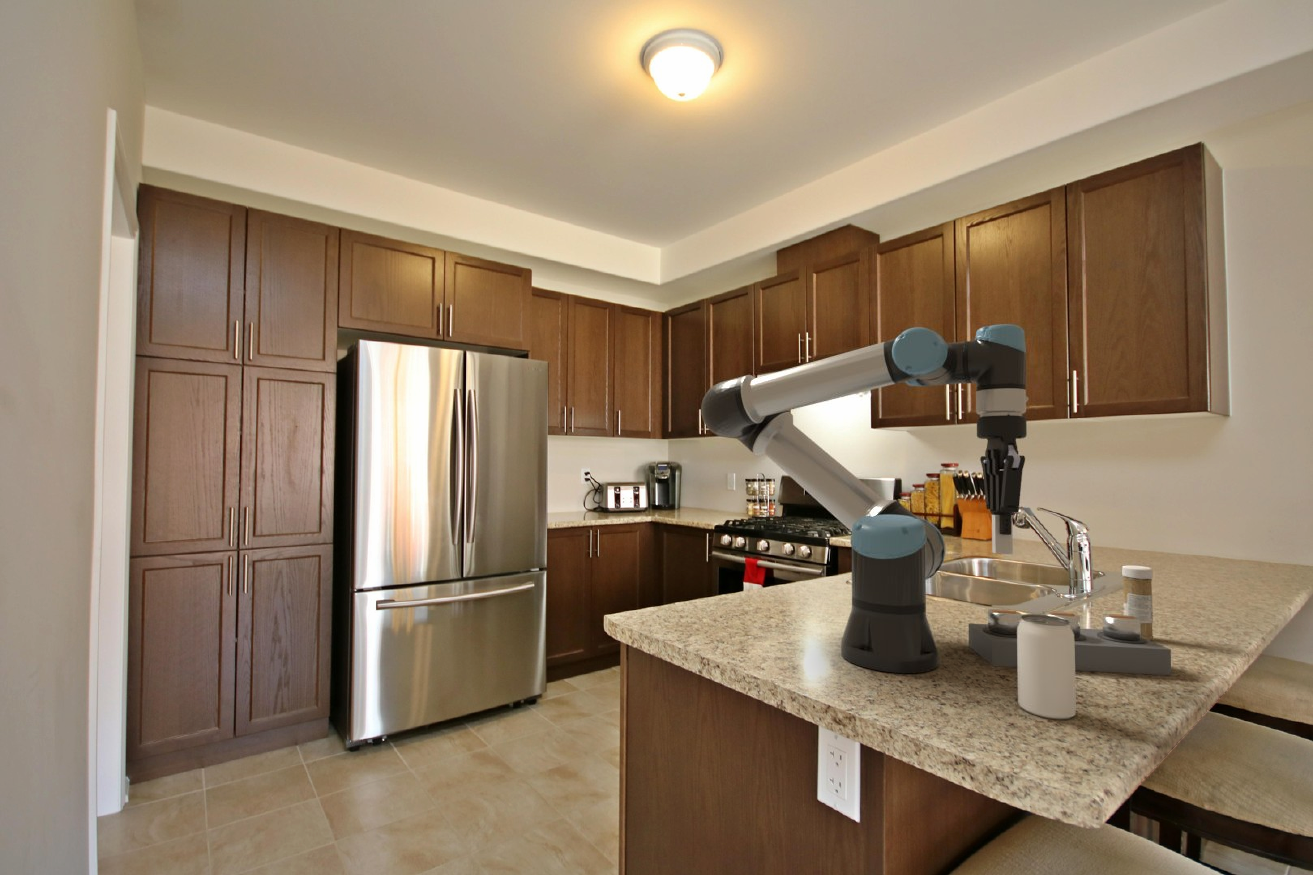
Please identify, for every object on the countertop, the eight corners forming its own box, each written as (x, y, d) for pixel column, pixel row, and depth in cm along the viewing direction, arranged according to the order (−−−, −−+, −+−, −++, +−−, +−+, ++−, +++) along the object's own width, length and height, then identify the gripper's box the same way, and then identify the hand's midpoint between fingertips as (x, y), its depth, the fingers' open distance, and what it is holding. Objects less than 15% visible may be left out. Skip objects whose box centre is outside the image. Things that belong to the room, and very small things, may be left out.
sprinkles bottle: (1127, 633, 120) (1125, 563, 121) (1156, 638, 117) (1155, 567, 117) (1120, 637, 117) (1118, 566, 118) (1150, 642, 114) (1148, 569, 114)
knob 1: (994, 633, 103) (994, 613, 103) (983, 625, 108) (983, 606, 108) (1027, 634, 102) (1026, 614, 102) (1014, 627, 107) (1014, 607, 107)
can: (1077, 724, 77) (1075, 627, 78) (1017, 713, 81) (1015, 620, 81) (1074, 707, 83) (1073, 617, 83) (1018, 697, 86) (1017, 610, 87)
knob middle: (1053, 636, 102) (1053, 615, 102) (1039, 628, 107) (1039, 608, 107) (1086, 637, 101) (1086, 617, 101) (1070, 629, 106) (1070, 610, 106)
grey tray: (992, 665, 100) (992, 639, 100) (968, 645, 111) (968, 622, 111) (1171, 675, 96) (1170, 648, 96) (1128, 653, 107) (1128, 629, 107)
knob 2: (1113, 639, 100) (1113, 618, 100) (1096, 630, 105) (1096, 611, 105) (1147, 640, 99) (1147, 620, 100) (1128, 632, 104) (1128, 612, 105)
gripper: (1042, 412, 100) (1043, 559, 99) (1008, 418, 112) (1010, 548, 112) (992, 412, 101) (993, 558, 100) (965, 418, 114) (965, 547, 113)
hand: (1002, 553), depth 106 cm, fingers closed
